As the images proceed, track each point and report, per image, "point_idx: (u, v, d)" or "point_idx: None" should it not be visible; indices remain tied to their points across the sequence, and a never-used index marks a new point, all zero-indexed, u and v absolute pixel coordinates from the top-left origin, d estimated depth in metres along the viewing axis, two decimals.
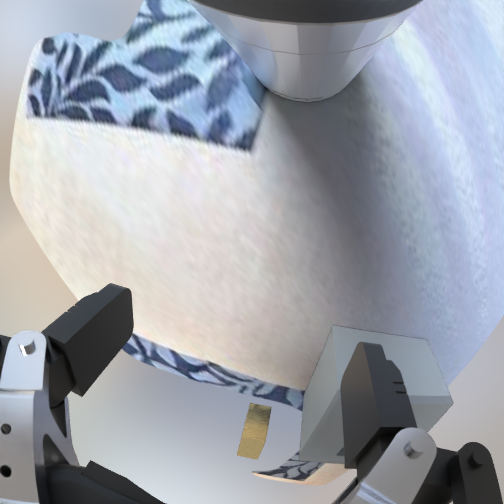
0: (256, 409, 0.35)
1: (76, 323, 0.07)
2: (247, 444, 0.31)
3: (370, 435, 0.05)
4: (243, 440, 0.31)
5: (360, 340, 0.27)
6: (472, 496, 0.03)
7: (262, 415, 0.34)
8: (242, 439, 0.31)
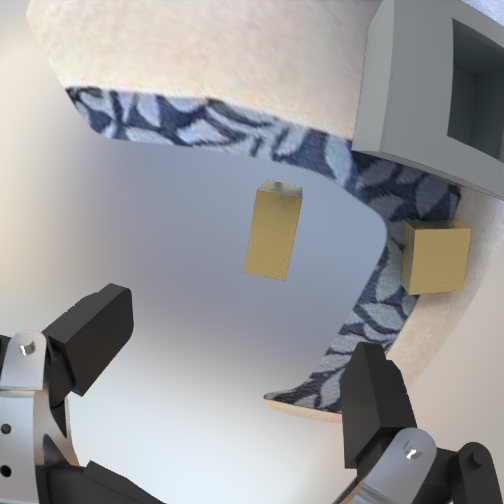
0: (278, 183, 0.23)
1: (76, 323, 0.07)
2: (266, 216, 0.19)
3: (370, 435, 0.05)
4: (258, 205, 0.19)
5: None
6: (472, 496, 0.03)
7: (289, 187, 0.22)
8: (257, 199, 0.19)
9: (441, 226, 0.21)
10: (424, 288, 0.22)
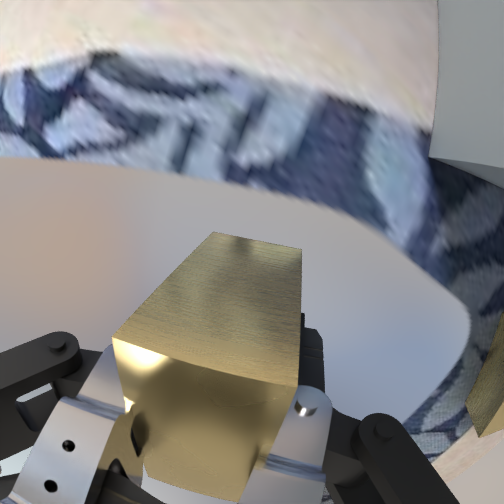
0: (237, 247, 0.09)
1: None
2: (166, 413, 0.05)
3: None
4: (132, 383, 0.04)
5: None
6: (392, 473, 0.04)
7: (265, 263, 0.08)
8: (124, 367, 0.04)
9: None
10: None
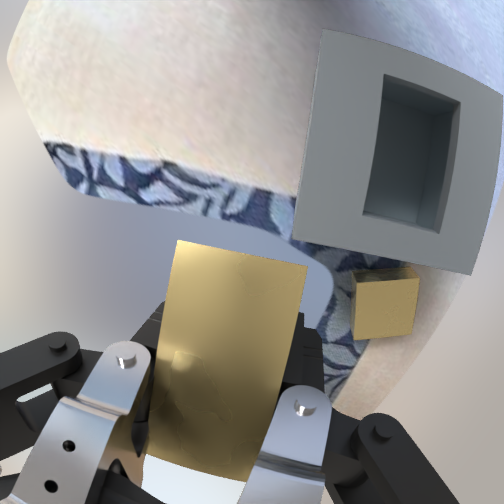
0: None
1: None
2: (201, 318, 0.06)
3: None
4: (179, 286, 0.06)
5: None
6: (392, 473, 0.04)
7: None
8: (178, 268, 0.06)
9: (387, 276, 0.24)
10: (369, 334, 0.25)
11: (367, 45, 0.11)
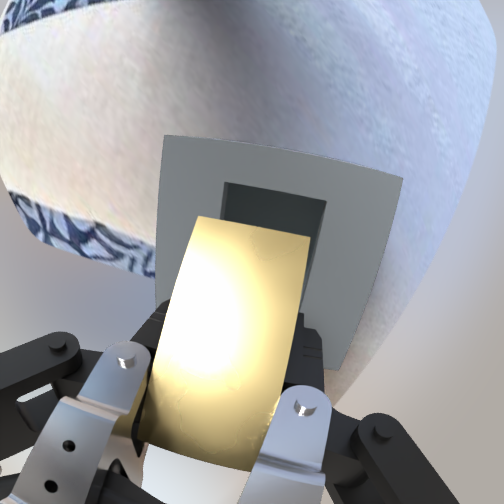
0: None
1: None
2: (215, 280, 0.07)
3: None
4: (196, 252, 0.07)
5: None
6: (392, 473, 0.04)
7: None
8: (196, 238, 0.07)
9: None
10: None
11: (208, 148, 0.13)
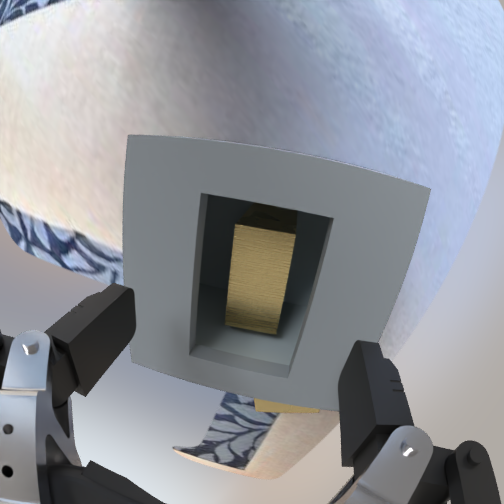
0: None
1: (80, 323, 0.07)
2: (264, 209, 0.18)
3: (366, 433, 0.06)
4: (255, 205, 0.19)
5: None
6: (469, 495, 0.03)
7: None
8: (255, 204, 0.19)
9: None
10: (271, 408, 0.24)
11: (180, 150, 0.10)
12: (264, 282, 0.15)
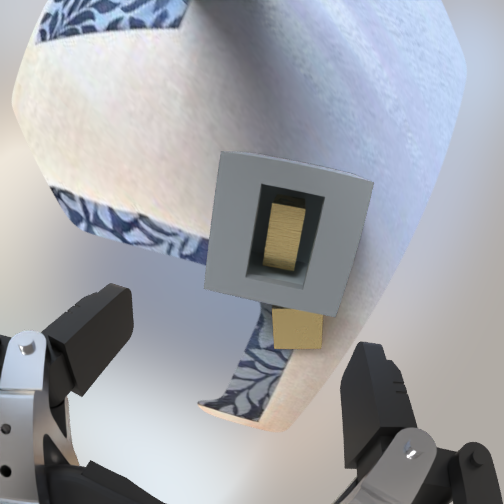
0: None
1: (76, 323, 0.07)
2: (285, 197, 0.29)
3: (370, 435, 0.05)
4: (279, 195, 0.30)
5: (269, 156, 0.29)
6: (472, 496, 0.03)
7: None
8: (278, 195, 0.30)
9: None
10: (286, 345, 0.35)
11: (251, 162, 0.21)
12: (287, 237, 0.26)
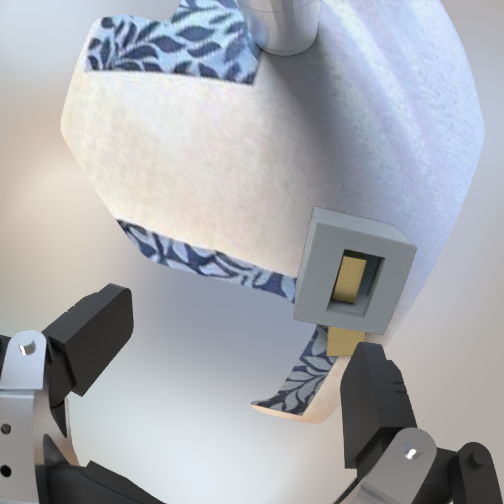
0: None
1: (76, 323, 0.07)
2: None
3: (370, 435, 0.05)
4: None
5: (335, 213, 0.37)
6: (472, 496, 0.03)
7: None
8: None
9: None
10: (336, 353, 0.44)
11: (338, 233, 0.30)
12: (352, 279, 0.35)
